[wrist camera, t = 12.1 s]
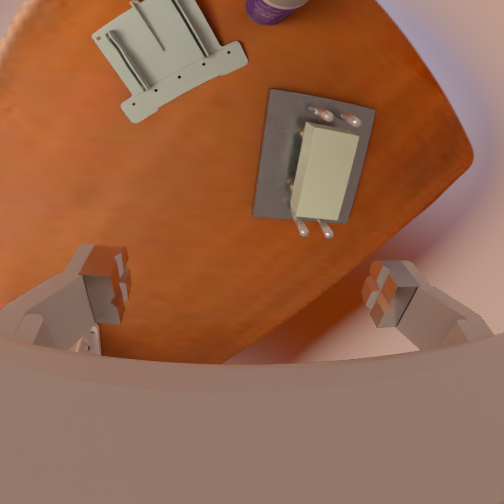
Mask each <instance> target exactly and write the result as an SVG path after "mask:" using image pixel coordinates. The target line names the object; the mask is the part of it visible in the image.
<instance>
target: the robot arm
mask: <svg viewBox="0 0 504 504" xmlns="http://www.w3.org/2000/svg"><path fill="white" fill-rule="evenodd" d="M127 261H128V252H127V249H126V247H123V246H109V245H95V244H81V245H80V246H79V247H78V249H77V251H76V252H75V254H74V255H73V257H72V259H71V260H70V262H69V263H68V265H67V267H66V268H65V270H64V272H63V273H58V274H56V275H54V276H53V277H51V278H49V279H48V280H46V281H44V282H43V283H41V284H39V285H38V286H36V287H34V288H33V289H31V290H29V291H28V292H26V293H25V294H23V295H21V296H20V297H18V298H17V299H15V300H13V301H12V302H10V303H9V304H7V305H6V306H4V307H3V308H2V310H1V311H0V504H504V333H501V334H497V335H494V334H493V333H492V331H491V330H490V328H489V327H488V325H487V324H486V323H485V321H484V320H483V319H482V317H481V316H480V315H478V314H477V313H475V312H474V311H472V310H470V309H469V308H467V307H466V306H464V305H462V304H461V303H459V302H458V301H456V300H455V299H453V298H452V297H450V296H449V295H447V294H445V293H444V292H442V291H440V290H439V289H437V288H436V287H431V285H430V284H429V283H428V281H427V280H426V279H425V278H424V276H423V275H422V274H421V273H420V271H419V270H418V269H417V268H416V266H415V265H414V264H413V263H412V262H411V261H408V260H374V261H373V263H372V264H371V266H370V269H369V271H370V274H371V275H370V276H369V277H368V278H367V279H365V281H364V284H363V287H362V299H363V302H364V303H365V306H367V307H368V308H370V309H371V313H370V315H371V317H372V319H373V321H374V323H375V325H376V327H377V328H381V327H396V328H397V329H398V330H399V331H401V333H403V334H404V335H405V336H406V337H407V338H408V339H409V340H410V341H411V342H412V343H413V344H414V345H416V346H417V347H418V348H419V349H420V351H415V352H408V353H401V354H394V355H387V356H378V357H370V358H361V359H350V360H339V361H327V362H311V363H293V364H253V365H252V364H251V365H250V364H249V365H247V364H246V365H236V364H229V365H228V364H226V365H225V364H193V363H173V362H158V361H146V360H135V359H126V358H117V357H109V356H102V353H101V342H100V329H99V325H98V324H97V323H105V324H118V325H121V322H122V319H123V315H124V312H125V306H124V302H125V301H127V300H128V298H129V294H130V287H131V275H130V270H129V269H128V268H127V267H126V264H127Z"/></svg>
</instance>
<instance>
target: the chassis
mask: <svg viewBox="0 0 504 504" xmlns="http://www.w3.org/2000/svg"><path fill="white" fill-rule="evenodd" d="M375 111H376V110H374V109H371V108H367V107H363V106H360V105H355V104H351V103H347V102H343V101H338V100H334V99H329V98H324V97H319V96H314V95H308V94H303V93H297V92H291V91H284V90H277V89H270V88H269V89H268V96H267V103H266V111H265V118H264V125H263V132H262V139H261V147H260V154H259V161H258V168H257V176H256V183H255V191H254V198H253V205H252V216H253V217H262V218H277V219H290V220H294V222H295V224H296V226H297V228H298V231H299V233H300V235H301V236H302V237H306V236H308V234H309V231H308V229H307V227H306V225H305V223H304V221H316V222H317V223H318V224H319V226H320V228H321V230H322V231H323V233H324V235H325V237H326V238H327V239H330V238H332V237H333V235H334V233H333V232H332V230H331V228H330V227H329V225H328V223H339V224H347V222H348V219H349V215H350V212H351V208H352V205H353V201H354V198H355V194H356V190H357V187H358V183H359V179H360V175H361V171H362V167H363V163H364V159H365V155H366V151H367V147H368V143H369V139H370V134H371V130H372V125H373V121H374V116H375ZM306 122H311V123H316V124H322V125H327V126H332V127H337V128H342V129H347V130H349V131H351V132H353V133H354V134H356V135H358V136H359V140H358V144H357V148H356V152H355V156H354V160H353V164H352V168H351V172H350V176H349V180H348V184H347V188H346V191H345V195H344V199H343V202H342V206H341V210H340V213H339V217H338V220H328V219H317V218H307V217H296V216H295V214H294V212H293V209H292V207H291V205H290V201H291V196H292V191H293V186H294V181H295V176H296V171H297V166H298V161H299V156H300V151H301V145H302V140H303V135H304V129H305V124H306ZM327 222H328V223H327Z"/></svg>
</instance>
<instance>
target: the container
mask: <svg viewBox="0 0 504 504" xmlns="http://www.w3.org/2000/svg"><path fill="white" fill-rule="evenodd" d="M307 1H309V0H247V2H246V7H245V8H246V13H247V15H248V16H249V18H250V19H251V20H252V21H254V22H256V23H258V24H260V25H266V26H269V25H274V24H277V23H279V22H281V21H282V20H283V19H285V18H286V17H287V16H289V15H290V14H291V13H293V12H294V11H295V10H297V9H298V8H300V7H301V6H302V5H304V4H305V3H306V2H307Z"/></svg>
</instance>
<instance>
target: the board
mask: <svg viewBox="0 0 504 504" xmlns="http://www.w3.org/2000/svg"><path fill="white" fill-rule="evenodd" d="M358 140H359V136H358V135H356V134H354V133H353V132H351V131H349V130H347V129H342V128H337V127H332V126H327V125H322V124H316V123H311V122H306V124H305V129H304V135H303V140H302V145H301V151H300V156H299V161H298V166H297V171H296V176H295V181H294V186H293V191H292V196H291V201H290V205H291V207H292V209H293V212H294V214H295V216H296V217H307V218H317V219H328V220H338V217H339V213H340V210H341V206H342V202H343V199H344V195H345V191H346V188H347V184H348V180H349V176H350V172H351V168H352V164H353V160H354V156H355V152H356V148H357V144H358Z"/></svg>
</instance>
